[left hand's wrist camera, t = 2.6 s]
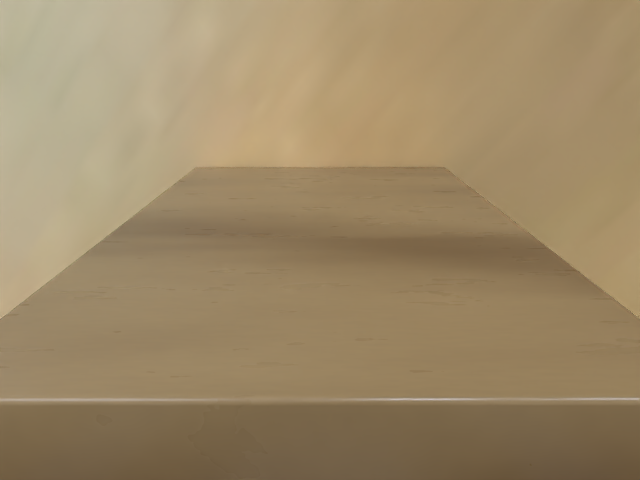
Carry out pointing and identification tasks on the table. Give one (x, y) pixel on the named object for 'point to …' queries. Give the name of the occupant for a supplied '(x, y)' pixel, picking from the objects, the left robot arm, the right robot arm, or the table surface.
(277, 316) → the box
